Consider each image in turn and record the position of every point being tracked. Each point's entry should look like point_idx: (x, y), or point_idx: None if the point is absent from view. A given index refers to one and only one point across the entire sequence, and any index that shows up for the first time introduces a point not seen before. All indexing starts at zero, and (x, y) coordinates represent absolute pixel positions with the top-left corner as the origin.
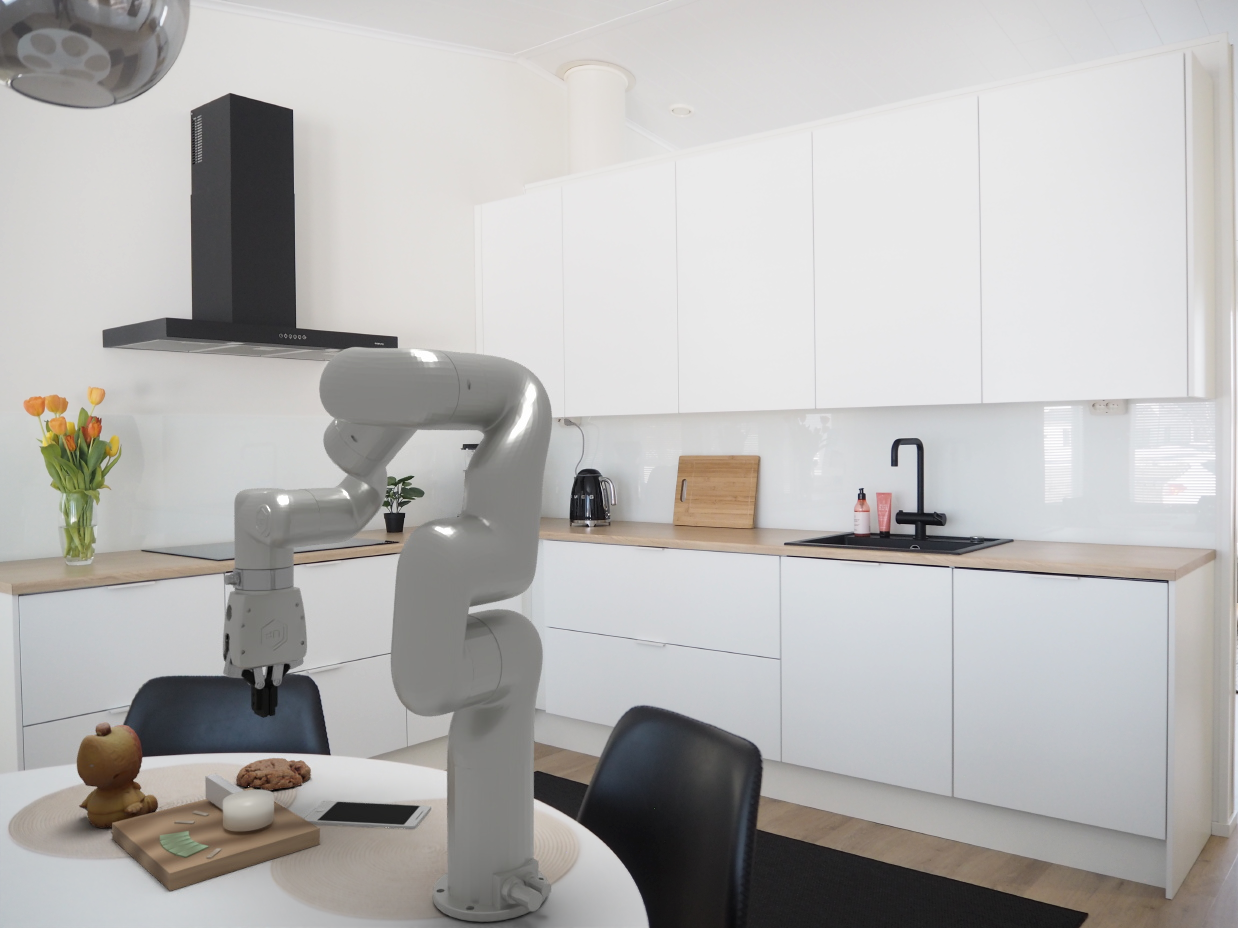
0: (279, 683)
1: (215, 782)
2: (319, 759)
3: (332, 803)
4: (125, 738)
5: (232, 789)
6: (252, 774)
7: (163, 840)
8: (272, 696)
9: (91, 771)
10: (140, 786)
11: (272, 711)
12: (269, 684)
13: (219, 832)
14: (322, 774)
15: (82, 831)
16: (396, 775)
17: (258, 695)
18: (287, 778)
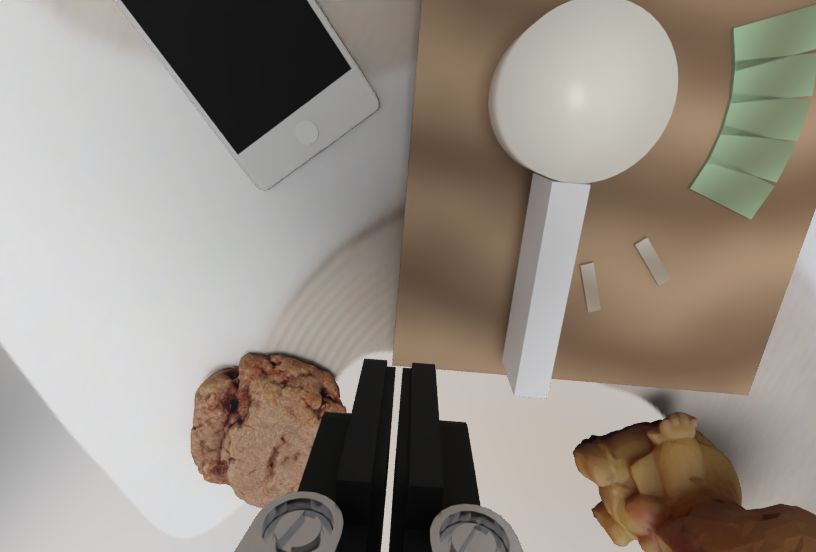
0: (283, 500)
1: (561, 325)
2: (130, 474)
3: (255, 153)
4: None
5: (568, 222)
6: None
7: (770, 175)
8: (372, 426)
9: None
10: (635, 503)
11: (380, 369)
12: (363, 535)
13: None
14: (170, 381)
15: (731, 454)
16: (4, 226)
17: (458, 484)
18: (276, 375)
